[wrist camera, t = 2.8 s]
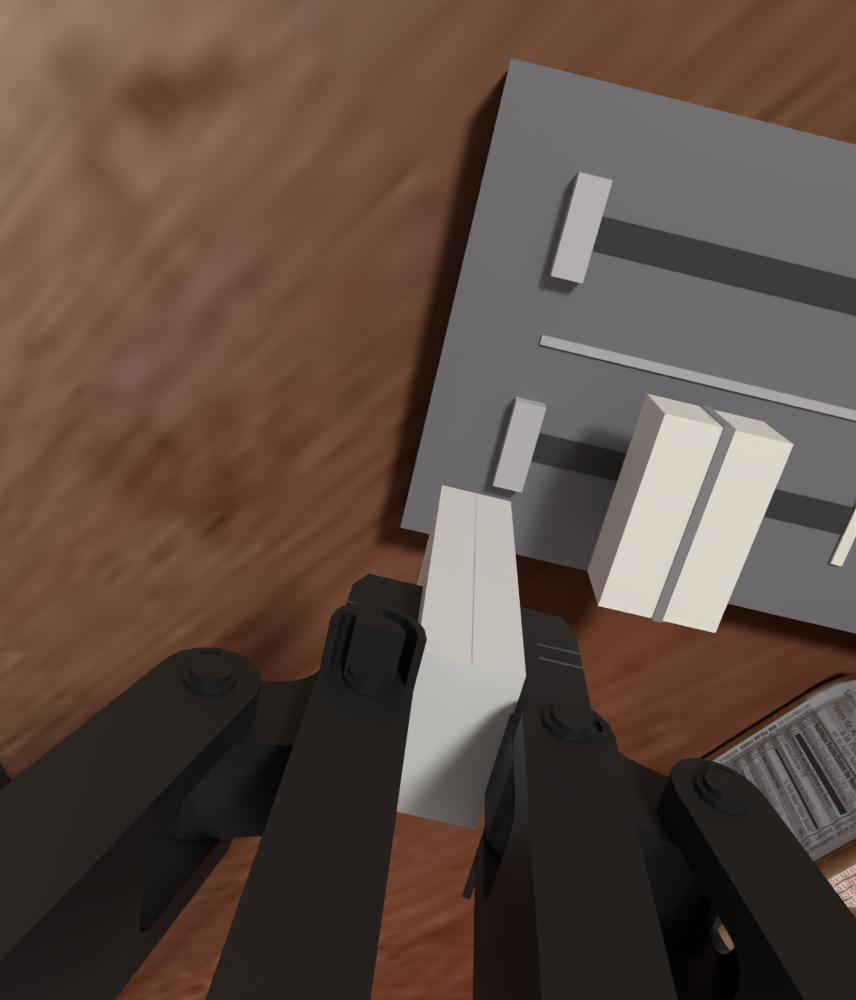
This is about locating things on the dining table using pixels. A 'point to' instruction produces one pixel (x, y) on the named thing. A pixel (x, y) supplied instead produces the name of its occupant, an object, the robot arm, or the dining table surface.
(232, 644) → the dining table surface
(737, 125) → the console
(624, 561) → the fader cream
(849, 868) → the tin
